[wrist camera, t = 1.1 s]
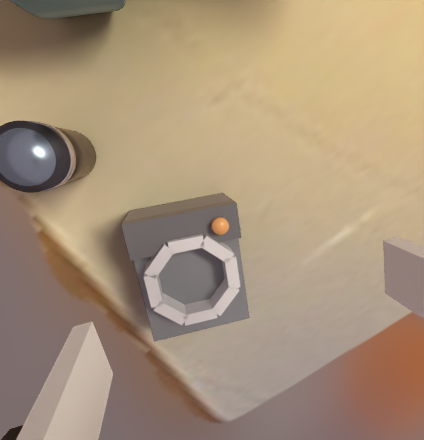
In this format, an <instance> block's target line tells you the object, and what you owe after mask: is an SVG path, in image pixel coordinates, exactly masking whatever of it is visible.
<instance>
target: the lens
mask: <svg viewBox="0 0 424 440" xmlns="http://www.w3.org/2000/svg"><path fill="white" fill-rule="evenodd" d="M95 162H96V152H95V149H94V147H93V145H92V143H91V142H90V140H89V139H88V138H87V137H85V136H84V135H82V134H81V133H78V132H76V131H71V130H67V129H62V128H57V127H53V126H51V125H48V124H44V123H40V122H33V121H13V122H9V123H6V124H4V125H2V126H0V180H1V181H2V182H3V183H5V184H6V185H8V186H9V187H11V188H13V189H16V190H19V191H23V192H39V191H45V190H50V189H53V188H56V187H59V186H61V185H63V184H64V183H67V182H70V181H73V180H76V179H79V178H82V177H84V176H86V175H87V174H89V173H90V172H91V171H92V169H93V168H94V165H95Z"/></svg>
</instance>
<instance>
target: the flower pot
mask: <svg viewBox="0 0 424 440" xmlns="http://www.w3.org/2000/svg"><path fill="white" fill-rule="evenodd" d="M10 1H11V2H13V3H14V4H16V5H17V6H19V7H21V8H22V9H24V10H25V11H27V12H29V13H30V14H32V15H35V16H37V17H41V18H47V19H55V18H63V17H71V16H79V15H87V14H94V13H103V12H112V11H118V10H120V9H122V8H123V7H124V5H125V2H126V0H10Z"/></svg>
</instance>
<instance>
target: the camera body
mask: <svg viewBox="0 0 424 440" xmlns="http://www.w3.org/2000/svg"><path fill="white" fill-rule="evenodd" d="M121 226H122V230H123V234H124V238H125V242H126V245H127V249H128V253H129V257H130V261H133V260H134V264H135V268H136V272H137V276H138V280H139V284H140V288H141V292H142V296H143V299H144V303H145V307H146V311H147V315H148V319H149V323H150V327H151V331H152V335H153V339H154V341H158V340H162V339H166V338H170V337H175V336H179V335H183V334H187V333H191V332H195V331H199V330H203V329H207V328H211V327H215V326H219V325H223V324H227V323H231V322H235V321H239V320H243V319H247V318H249V311H248V304H247V297H246V290H245V283H244V276H243V269H242V262H241V255H240V248H239V241H238V238H241V232H240V225H239V218H238V211H237V203H236V202H235V201H233V200H232V199H230V198H229V197H228V196H226V195H225V194H224V193H220V194H215V195H209V196H204V197H199V198H193V199H188V200H183V201H178V202H172V203H167V204H162V205H156V206H151V207H146V208H140V209H135V210H130V211H129V213H128V214H127V216H126V218H125V220H124V221H123V223H122V225H121Z"/></svg>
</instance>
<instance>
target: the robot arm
mask: <svg viewBox="0 0 424 440" xmlns="http://www.w3.org/2000/svg"><path fill="white" fill-rule="evenodd" d="M383 246H384V274H385V293H386V294H387V295H389V296H390V297H392V298H393V299H395V300H396V301H398V302H399V303H401V304H402V305H404V306H405V307H407V308H408V309H410V310H411V311H413V312H414V313H416V314H417V315H419V316H420V317H422V318H423V319H424V246H421V245H419V244H416V243H414V242H411V241H408V240H406V239H403V238H401V237H395V238H392V239H388V240H384V241H383ZM112 377H113V373H112V370H111V367H110V365H109V362H108V360H107V357H106V355H105V352H104V350H103V348H102V345H101V343H100V340H99V337H98V335H97V332H96V330H95V327H94V325H93V322H89V323H85V324H82V325H78V326H75V327H73V328H72V331H71V333H70V334H69V336H68V338H67V340H66V342H65V344H64V346H63V348H62V350H61V352H60V354H59V356H58V358H57V360H56V362H55V364H54V366H53V368H52V370H51V372H50V374H49V376H48V378H47V380H46V382H45V384H44V386H43V388H42V390H41V392H40V394H39V396H38V397H37V399H36V401H35V404H34V405H33V407H32V409H31V411H30V413H29V415H28V417H27V419H26V421H25V423H24V425H22V426H19V427H16V428H12V429H10V430H9V431H8V432H7V434H6V435H5V436H4V437H3V438H2V439H1V440H98V439H99V434H100V430H101V425H102V421H103V417H104V412H105V408H106V403H107V399H108V394H109V390H110V385H111V381H112Z"/></svg>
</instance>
